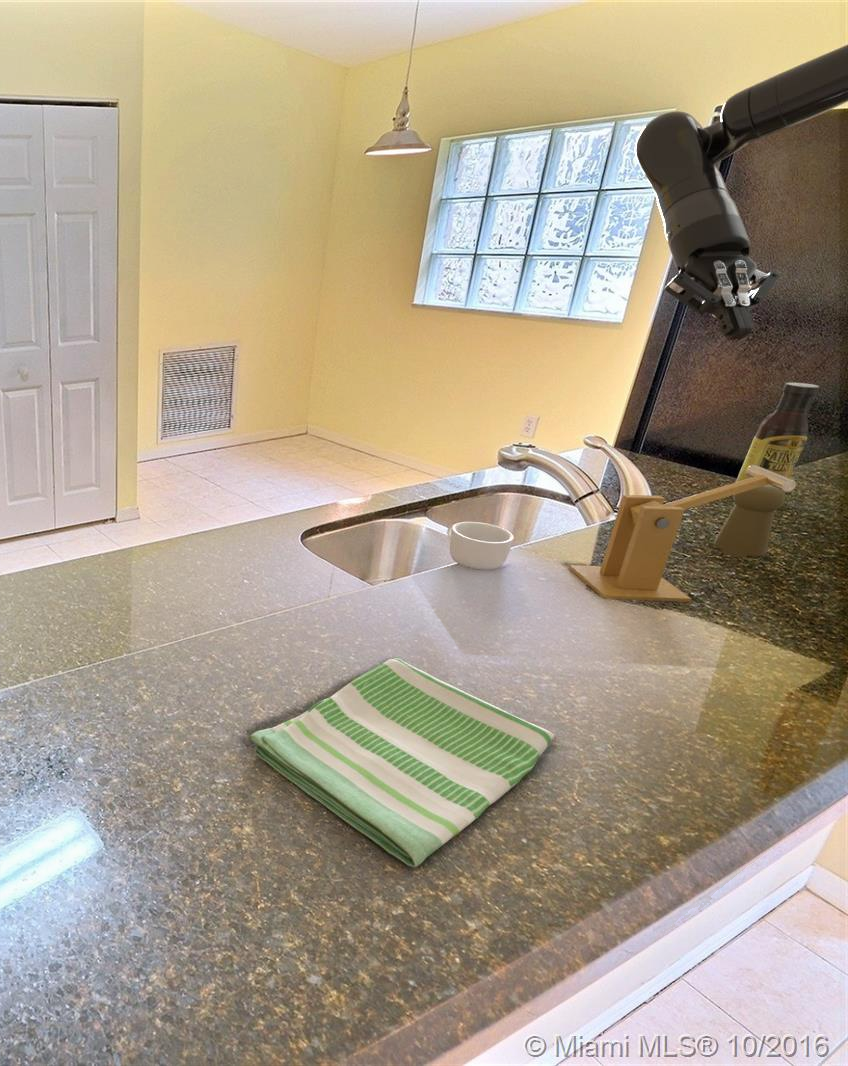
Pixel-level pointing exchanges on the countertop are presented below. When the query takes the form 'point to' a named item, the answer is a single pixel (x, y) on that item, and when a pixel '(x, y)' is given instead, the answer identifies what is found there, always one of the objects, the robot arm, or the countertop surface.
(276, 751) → the dish towel
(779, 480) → the tap lever
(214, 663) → the countertop surface
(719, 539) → the cork
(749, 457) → the sauce bottle
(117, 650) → the countertop surface
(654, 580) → the bracket
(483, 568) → the teacup
